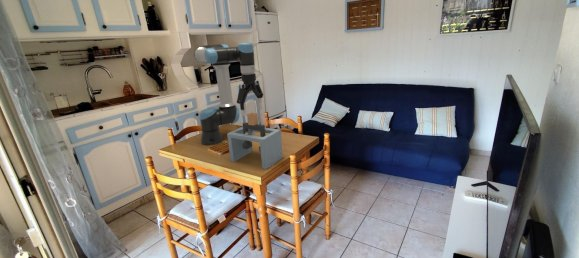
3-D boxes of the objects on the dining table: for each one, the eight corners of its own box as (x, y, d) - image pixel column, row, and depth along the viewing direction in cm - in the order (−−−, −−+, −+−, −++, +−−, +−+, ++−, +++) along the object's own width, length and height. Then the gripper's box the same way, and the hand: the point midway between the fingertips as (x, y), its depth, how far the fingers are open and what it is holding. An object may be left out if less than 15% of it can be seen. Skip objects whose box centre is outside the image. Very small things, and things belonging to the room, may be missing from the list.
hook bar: (245, 136, 150) (245, 132, 149) (259, 129, 160) (259, 125, 160) (248, 137, 149) (248, 133, 148) (262, 130, 159) (262, 126, 159)
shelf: (230, 161, 159) (227, 133, 154) (248, 150, 173) (246, 125, 167) (266, 169, 147) (263, 139, 141) (282, 157, 160) (280, 129, 155)
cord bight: (242, 148, 159) (238, 113, 153) (248, 145, 163) (244, 111, 157) (263, 152, 152) (260, 116, 145) (269, 149, 156) (266, 113, 149)
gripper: (238, 77, 132) (242, 119, 139) (267, 70, 153) (270, 107, 159) (226, 76, 136) (231, 117, 143) (256, 70, 156) (259, 106, 163)
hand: (252, 112), depth 151 cm, fingers open, 13 cm apart
